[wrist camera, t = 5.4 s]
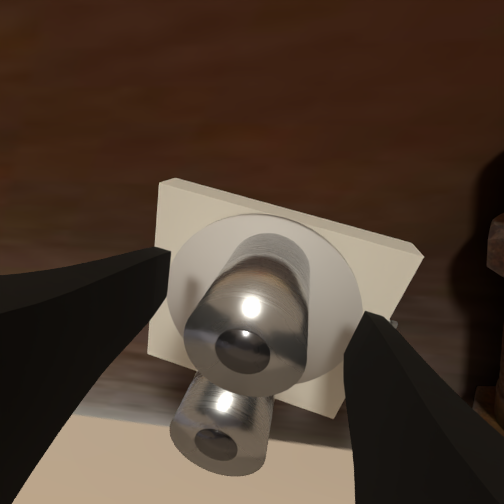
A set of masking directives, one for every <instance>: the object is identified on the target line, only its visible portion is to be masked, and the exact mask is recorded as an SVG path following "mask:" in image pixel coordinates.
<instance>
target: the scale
mask: <svg viewBox="0 0 504 504" xmlns="http://www.w3.org/2000/svg"><path fill="white" fill-rule="evenodd" d="M261 233H274V234H279V235H282V236H285V237H287V238H289V239H291V240H292V241H294V242H295V243H296V244H297V245H298V246H299V247H300V248H301V249H302V250H303V251H304V253H305V254H306V256H307V259H308V261H309V265H310V293H309V320H308V346H307V363H306V368H305V371H304V373H303V375H302V377H301V378H300V379H299V381H298V382H297V383H296V384H295V385H293V386H292V387H291V388H289V389H288V390H286V391H284V392H282V393H279V394H276V395H275V399H278V400H281V401H283V402H286V403H289V404H292V405H295V406H298V407H300V408H303V409H306V410H309V411H312V412H315V413H318V414H320V415H323V416H326V417H329V418H332V419H334V417H335V416H336V414H337V412H338V410H339V408H340V407H341V405H342V403H343V401H344V399H345V390H344V382H343V360H344V352H345V350H346V348H347V346H348V344H349V342H350V340H351V338H352V336H353V334H354V332H355V330H356V328H357V326H358V324H359V322H360V320H361V318H362V316H363V314H364V312H365V311H368V312H371V313H374V314H378V315H381V316H383V317H384V318H386V319H387V320H388V321H389V322H390V323H391V324H392V325H393V327H394V328H395V329H396V328H397V326H398V323H397V321H393V320H391V321H390V317H391V315H392V313H393V311H394V310H395V308H396V306H397V304H398V303H399V301H400V299H401V297H402V295H403V294H404V292H405V290H406V288H407V286H408V285H409V283H410V281H411V279H412V277H413V276H414V274H415V272H416V270H417V268H418V267H419V265H420V263H421V261H422V259H423V258H424V256H423V255H422V254H421V253H420V252H419V251H418V249H417V248H416V247H415V246H414V245H413V244H412V243H410V242H406V241H403V240H399V239H395V238H392V237H388V236H385V235H381V234H377V233H374V232H370V231H366V230H363V229H359V228H356V227H352V226H348V225H345V224H341V223H337V222H334V221H330V220H327V219H323V218H319V217H316V216H312V215H308V214H305V213H301V212H298V211H294V210H290V209H287V208H283V207H279V206H276V205H272V204H269V203H265V202H261V201H258V200H254V199H250V198H247V197H243V196H240V195H236V194H232V193H229V192H225V191H221V190H218V189H214V188H211V187H207V186H203V185H200V184H196V183H192V182H189V181H185V180H182V179H178V178H173V179H170V180H166V181H163V182H160V183H159V193H158V207H157V222H156V236H155V247H159V248H162V249H165V250H169V251H171V261H170V271H169V281H168V291H167V297H166V298H165V300H164V301H163V303H162V305H161V306H160V308H159V309H158V310H157V312H156V313H155V315H154V316H153V317H152V318H151V320H150V323H149V338H148V352H147V354H150V355H152V356H155V357H158V358H161V359H164V360H167V361H170V362H172V363H175V364H178V365H181V366H184V367H187V368H189V369H192V370H195V371H197V369H196V368H195V366H194V365H193V364H192V362H191V361H190V359H189V357H188V355H187V352H186V350H185V346H184V338H183V336H184V328H185V325H186V322H187V320H188V318H189V317H190V315H191V314H192V312H193V311H194V309H195V308H196V306H197V305H198V304H199V302H200V301H201V299H202V298H203V296H204V295H205V293H206V292H207V290H208V289H209V287H210V286H211V284H212V283H213V282H214V280H215V279H216V277H217V276H218V274H219V273H220V271H221V270H222V268H223V267H224V265H225V264H226V262H227V261H228V259H229V258H230V257H231V255H232V254H233V252H234V251H235V249H236V248H237V246H238V245H239V244H240V243H241V242H242V241H244V240H245V239H247V238H248V237H251V236H253V235H256V234H261Z"/></svg>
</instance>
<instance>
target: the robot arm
mask: <svg viewBox="0 0 504 504" xmlns="http://www.w3.org/2000/svg"><path fill="white" fill-rule="evenodd" d="M170 261H171V251H169V250H165V249H162V248H159V247H151V248H146V249H141V250H137V251H133V252H129V253H125V254H121V255H117V256H113V257H109V258H105V259H101V260H96V261H91V262H87V263H82V264H77V265H73V266H68V267H62V268H56V269H50V270H43V271H36V272H29V273H21V274H10V275H0V504H12V502H13V501H14V499H15V498H16V496H17V494H18V493H19V491H20V490H21V488H22V487H23V485H24V483H25V482H26V480H27V479H28V477H29V476H30V474H31V473H32V471H33V470H34V468H35V467H36V465H37V464H38V462H39V461H40V459H41V458H42V457H43V455H44V453H45V452H46V451H47V449H48V448H49V446H50V445H51V443H52V442H53V440H54V439H55V437H56V436H57V434H58V433H59V432H60V430H61V429H62V427H63V426H64V425H65V423H66V422H67V420H68V419H69V418H70V416H71V415H72V413H73V412H74V411H75V409H76V408H77V406H78V405H79V404H80V402H81V401H82V400H83V398H84V397H85V396H86V394H87V393H88V392H89V390H90V389H91V388H92V386H93V385H94V384H95V382H96V381H97V380H98V378H99V377H100V376H101V374H102V373H103V372H104V371H105V370H106V368H107V367H108V366H109V365H110V364H111V363H112V361H113V360H114V359H115V358H116V357H117V356H118V355H119V354H120V353H121V352H122V351H123V349H124V348H125V347H126V346H127V345H128V344H129V343H130V342H131V341H132V340H133V339H134V337H135V336H136V335H137V334H138V333H139V332H140V331H141V330H142V329H143V327H144V326H145V325H146V324H147V323H148V322H149V321H150V320H151V318H152V317H153V316H154V315H155V313H156V312H157V310H158V309H159V308H160V306H161V305H162V303H163V301H164V300H165V298H166V297H167V291H168V281H169V271H170ZM343 382H344V390H345V398H346V406H347V414H348V421H349V429H350V436H351V444H352V451H353V462H354V480H355V504H504V437H503V436H502V435H501V434H500V433H499V432H498V431H497V430H496V429H494V428H493V427H492V426H491V425H490V424H489V423H488V422H487V421H485V420H484V419H483V418H482V417H481V416H480V415H479V414H478V413H477V412H475V411H474V410H473V409H472V408H471V407H470V406H469V405H468V404H467V403H466V402H465V401H464V400H463V399H462V398H461V397H459V396H458V395H457V394H456V393H455V392H454V391H453V390H452V389H451V388H450V387H449V386H448V385H447V384H446V383H445V382H444V381H443V380H442V379H441V378H440V376H439V375H438V374H437V373H436V372H435V371H434V370H433V369H432V368H431V367H430V366H429V365H428V364H427V363H426V362H425V361H424V360H423V358H422V357H421V356H420V355H419V354H418V353H417V352H416V351H415V350H414V349H413V347H412V346H411V345H410V344H409V343H408V342H407V341H406V340H405V339H404V337H403V336H402V335H401V334H400V333H399V332H398V331H397V330H396V329H395V328H394V327H393V325H392V324H391V323H390V322H389V321H388V320H387V319H386V318H384V317H383V316H381V315H378V314H374V313H371V312H368V311H365V312H364V314H363V316H362V318H361V320H360V322H359V324H358V326H357V328H356V330H355V332H354V334H353V336H352V338H351V340H350V342H349V344H348V346H347V348H346V350H345V352H344V360H343Z"/></svg>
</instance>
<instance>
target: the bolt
mask: <svg viewBox="0 0 504 504" xmlns="http://www.w3.org/2000/svg"><path fill="white" fill-rule="evenodd" d="M487 267H488V268H490V269H491V270H493V271H494V272H496V273H497V274H499V275H500V276H502V277H504V213H503V214H500V215H498V216H497V217H495V218H494V219H493V220H492V222H491V226H490V230H489V236H488V248H487ZM503 329H504V324H503ZM502 334H503V335H502V345H501V346H502V350H501V361H500V373H499V376H500V377H499V379H498V381H497V384H496V386H477V387H476V392H475V397H474V402H473V407H472V409H473V410H474V411H475V412H477V413H478V414H479V415H480V416H481V417H482V418H483V419H484V420H485V421H487V422H488V423H489V424H490V425H491V426H492V427H493V428H494V429H496V430H497V431H498V432H499V433H500V434H501V435H502V436H503V437H504V330H503V332H502Z"/></svg>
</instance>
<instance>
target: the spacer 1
mask: <svg viewBox="0 0 504 504" xmlns="http://www.w3.org/2000/svg"><path fill="white" fill-rule="evenodd" d="M309 293H310V265H309V261H308V259H307V256H306V254H305V253H304V251H303V250H302V249H301V248H300V247H299V246H298V245H297V244H296V243H295V242H294V241H292V240H291V239H289V238H287V237H285V236H282V235H279V234H274V233H261V234H256V235H253V236H251V237H248V238H247V239H245V240H244V241H242V242H241V243H240V244H239V245H238V246H237V248H236V249H235V251H234V252H233V254H232V255H231V257H230V258H229V259H228V261H227V262H226V264H225V265H224V267H223V268H222V270H221V271H220V273H219V274H218V276H217V277H216V279H215V280H214V282H213V283H212V284H211V286H210V287H209V289H208V290H207V292H206V293H205V295H204V296H203V298H202V299H201V301H200V302H199V304H198V305H197V306H196V308H195V309H194V311H193V312H192V314H191V315H190V317H189V318H188V320H187V322H186V325H185V328H184V336H183V338H184V346H185V350H186V352H187V355H188V357H189V359H190V361H191V362H192V364H193V365H194V366H195V368H196V369H197V370H198V371H199V372H200V373H201V374H202V375H203V376H204V377H205V378H206V379H208V380H209V381H210V382H212V383H213V384H215V385H217V386H218V387H220V388H222V389H224V390H227V391H229V392H232V393H235V394H239V395H243V396H250V397H266V396H272V395H276V394H279V393H282V392H284V391H286V390H288V389H289V388H291V387H292V386H293V385H295V384H296V383H297V382H298V381H299V379H300V378H301V377H302V375H303V373H304V371H305V368H306V363H307V346H308V320H309Z"/></svg>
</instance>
